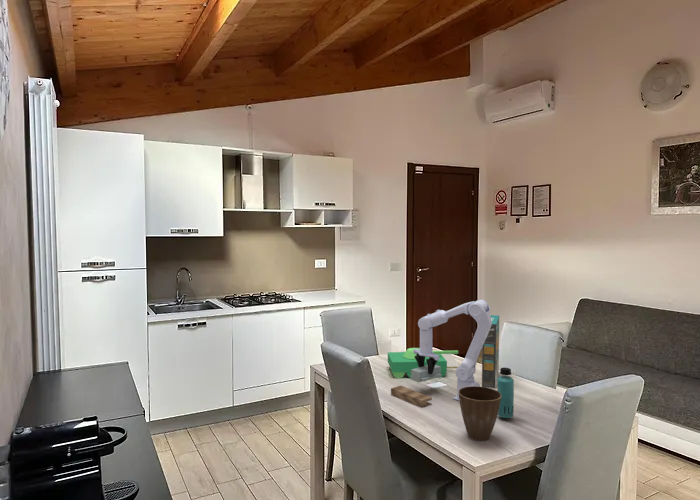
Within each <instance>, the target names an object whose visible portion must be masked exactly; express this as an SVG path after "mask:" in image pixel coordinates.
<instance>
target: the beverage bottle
mask: <svg viewBox="0 0 700 500" xmlns="http://www.w3.org/2000/svg"><path fill="white" fill-rule="evenodd" d="M499 370H500V372H499V374H500V376H498V379H497V383H496V386H497V387H496V388H497V390H496V391H498V392H500V394H501V401H500V407H499V411H498V415H497V417H500V418H504V419H505V418H506V419H510V418H513V417H514V409H515V408H514V406H515V404H514V400H515V399H514V397H515V396H514V395H515V394H514V393H515V387H514V386H515V384H514V382H515V380H514V379H513V378H512V377H511V376H510V375H512V369H511V368H510V367H501V368H500V369H499Z"/></svg>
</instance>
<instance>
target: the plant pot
mask: <svg viewBox="0 0 700 500" xmlns="http://www.w3.org/2000/svg"><path fill="white" fill-rule="evenodd" d="M458 392H459V400H460V401H459V400H458V401H459V406H460V411H461V417H462V420H463V423H464V426H465V430H466V433H467V435H468V437H469V438H470V439H472V440H474V441H481V442H482V441H488V440H489V439H490V438H491V435H492V433H493V431H494V428H495V425H496V422H497V418H498V411H499V407H500V401H501V394H500V392H498V391H497V390H496V389H495V388H488V387H482V386H480V387H479V386H470V387H464V388H461V389H460V390H459V391H458Z"/></svg>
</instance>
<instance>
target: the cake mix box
mask: <svg viewBox="0 0 700 500" xmlns="http://www.w3.org/2000/svg"><path fill="white" fill-rule="evenodd" d="M490 315H491V321H492V325H491V328H490V330H489V332H488V335H487V337H486V339H485V342H484V344H483V346H482V349H481V355H482V356H481V359H482V360H481V387H487V388H491V389H496V388H497V387H496V386H497V379H498V378H499V373H500V372H499V370H500V369H499V367H500V366H499V362H500V361H499V360H500V355H499V354H500V353H499V352H500V315H497V314H496V315H494V314H490Z"/></svg>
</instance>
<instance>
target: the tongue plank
mask: <svg viewBox="0 0 700 500" xmlns="http://www.w3.org/2000/svg"><path fill="white" fill-rule="evenodd" d="M441 376H442V374H441V367H440V366H437V365H435V367H434V370H433V374H428V365H427V366H423V367H419V368H415V369H412V370H411V378H410V380H411V381H413V382H417V383H422V382H427V381H430V380H434V379H438V378H442V377H441Z"/></svg>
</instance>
